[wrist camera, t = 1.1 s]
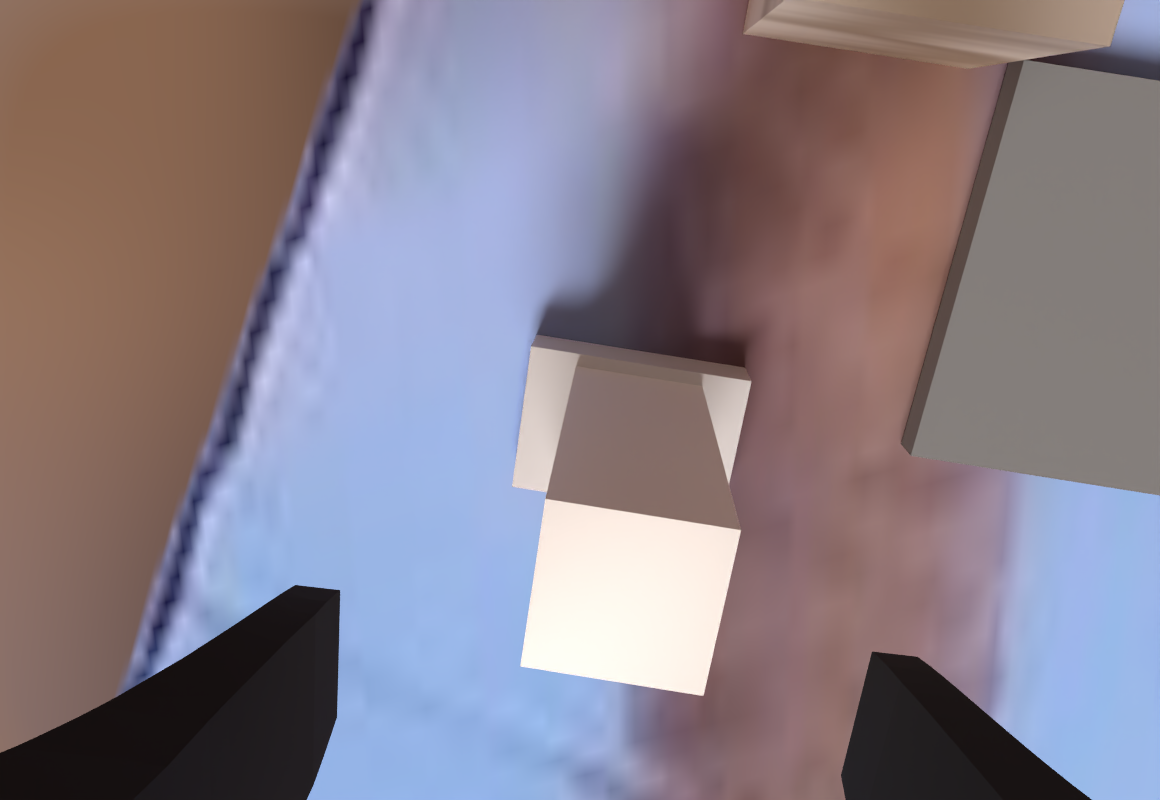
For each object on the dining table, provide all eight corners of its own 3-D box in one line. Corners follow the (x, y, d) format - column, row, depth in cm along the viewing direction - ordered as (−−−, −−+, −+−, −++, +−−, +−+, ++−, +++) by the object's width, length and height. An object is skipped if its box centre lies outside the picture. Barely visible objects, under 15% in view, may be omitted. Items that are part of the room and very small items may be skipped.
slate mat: (1392, 121, 19) (1424, 121, 18) (1235, 497, 22) (1257, 511, 21) (1008, 62, 19) (1024, 59, 18) (901, 444, 22) (910, 455, 21)
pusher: (745, 367, 22) (817, 523, 13) (716, 500, 23) (766, 722, 14) (536, 334, 22) (475, 468, 13) (518, 468, 23) (451, 671, 14)
